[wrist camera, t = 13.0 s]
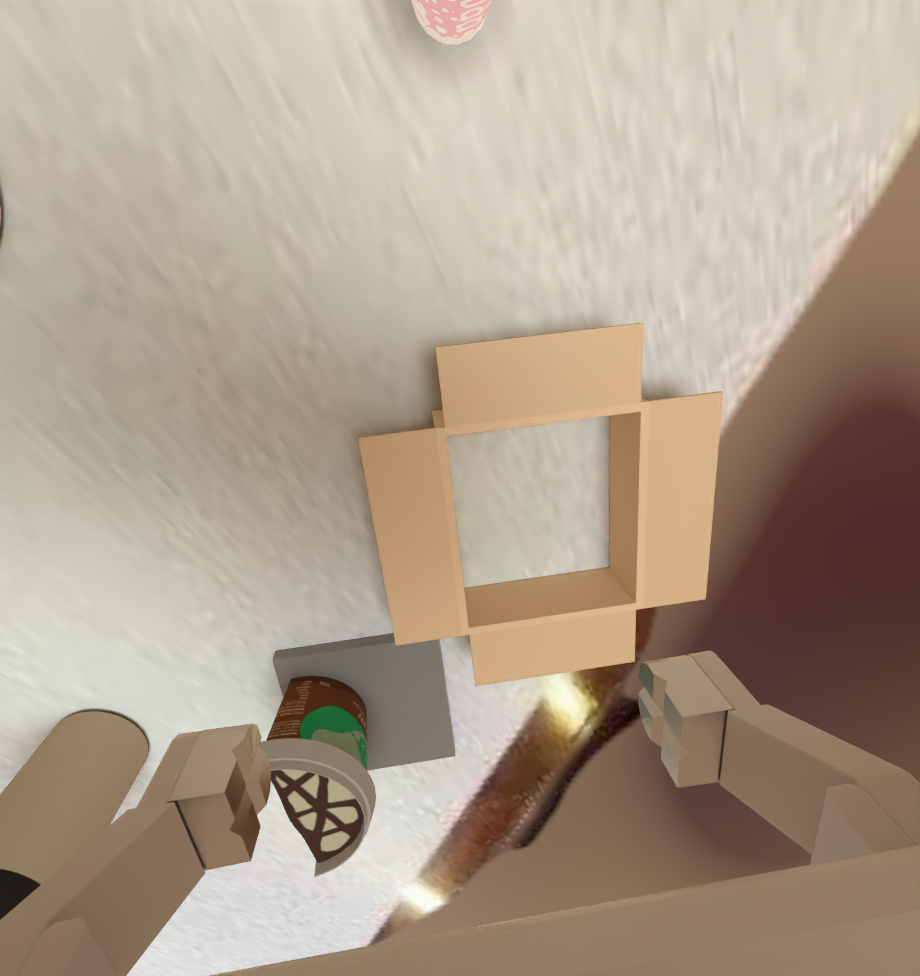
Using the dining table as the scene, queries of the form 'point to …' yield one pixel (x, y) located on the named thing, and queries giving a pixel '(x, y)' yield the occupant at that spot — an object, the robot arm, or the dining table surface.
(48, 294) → the dining table surface
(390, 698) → the slate board
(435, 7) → the beverage cup
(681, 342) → the dining table surface
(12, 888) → the travel mug
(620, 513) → the carton
